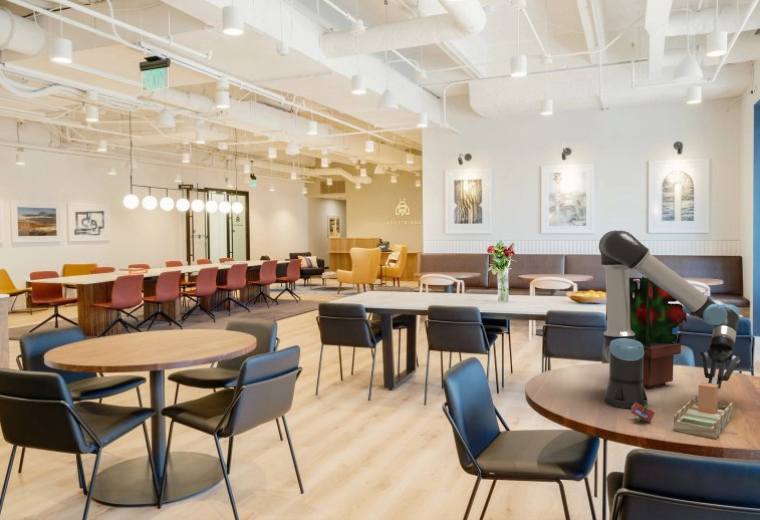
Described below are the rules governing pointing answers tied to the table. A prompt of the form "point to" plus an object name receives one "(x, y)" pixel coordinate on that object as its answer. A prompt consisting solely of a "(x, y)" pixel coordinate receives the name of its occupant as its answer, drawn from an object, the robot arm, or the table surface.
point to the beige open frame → (702, 420)
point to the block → (708, 398)
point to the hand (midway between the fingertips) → (712, 394)
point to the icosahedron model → (642, 412)
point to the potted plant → (655, 329)
